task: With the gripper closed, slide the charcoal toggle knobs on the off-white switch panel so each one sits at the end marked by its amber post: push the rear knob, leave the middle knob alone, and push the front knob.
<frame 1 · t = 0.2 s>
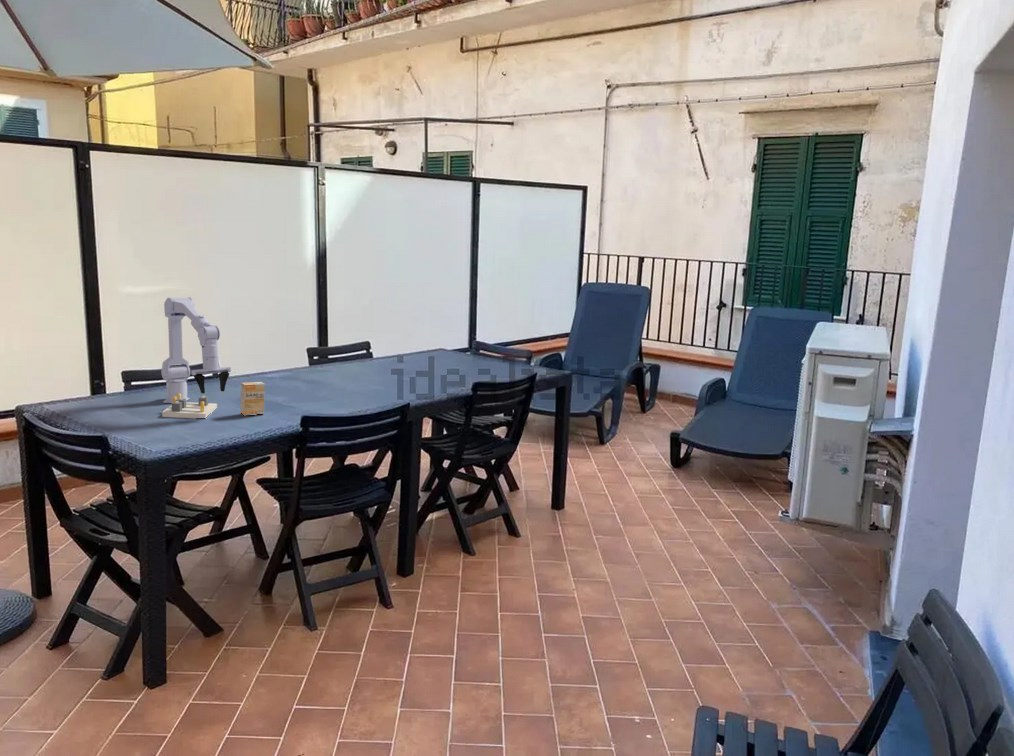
hand: (212, 392, 291), 10 cm above the table, tool pointing down, fingers open, 7 cm apart
middle knob: (181, 402, 297), point 4 cm above the table, slide at 0.0 cm
supplement box: (252, 415, 303), on the table
rear knob: (203, 400, 303), point 4 cm above the table, slide at 7.0 cm
front knob: (176, 406, 292), point 4 cm above the table, slide at 0.0 cm
switch panel: (190, 412, 298), on the table
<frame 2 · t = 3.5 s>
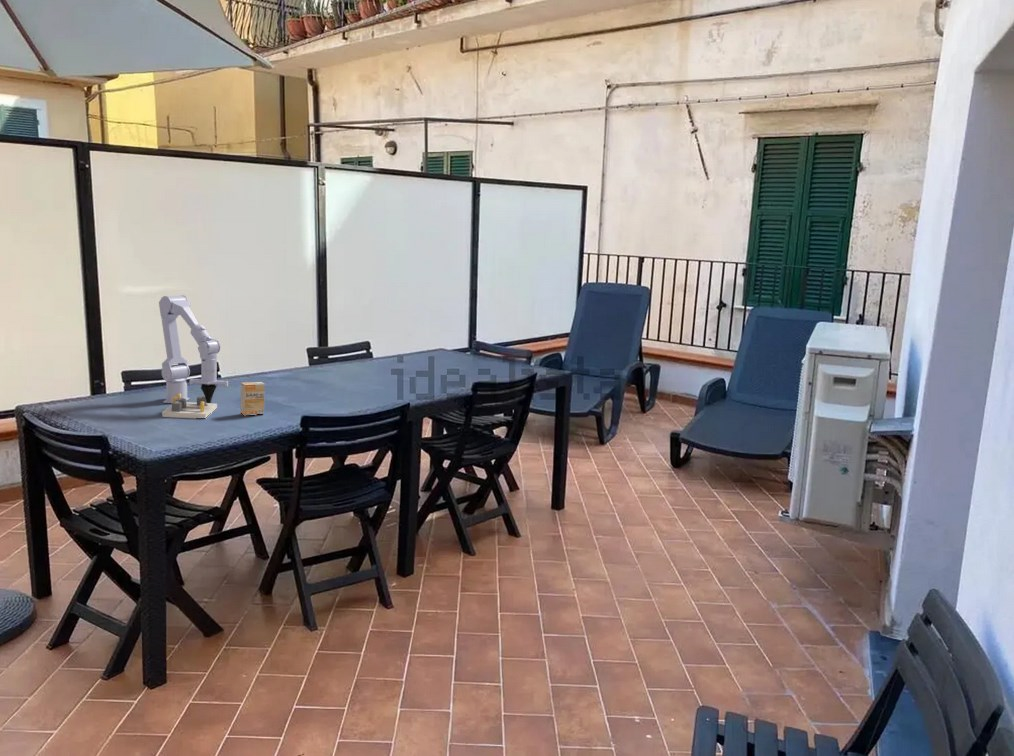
hand: (208, 402, 304), 3 cm above the table, tool pointing down, fingers closed
rear knob: (201, 400, 303), point 4 cm above the table, slide at 6.3 cm, touching gripper
everything else where it was.
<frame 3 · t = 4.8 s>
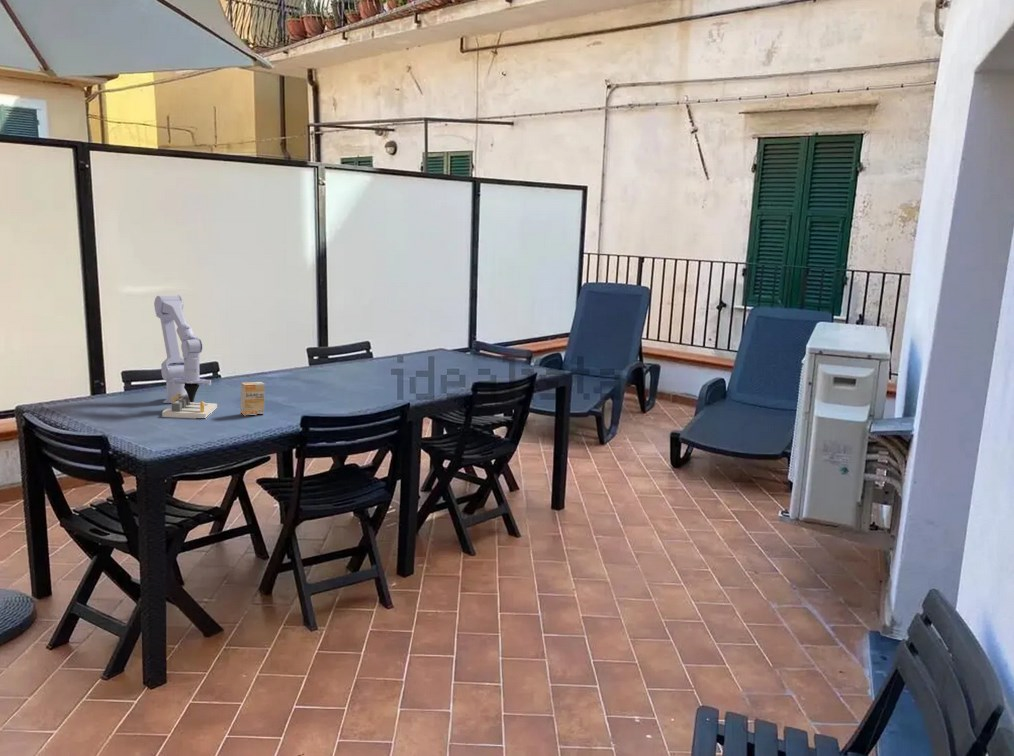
hand: (191, 401, 303), 3 cm above the table, tool pointing down, fingers closed
rear knob: (185, 399, 302), point 4 cm above the table, slide at -0.2 cm, touching gripper
everything else where it was.
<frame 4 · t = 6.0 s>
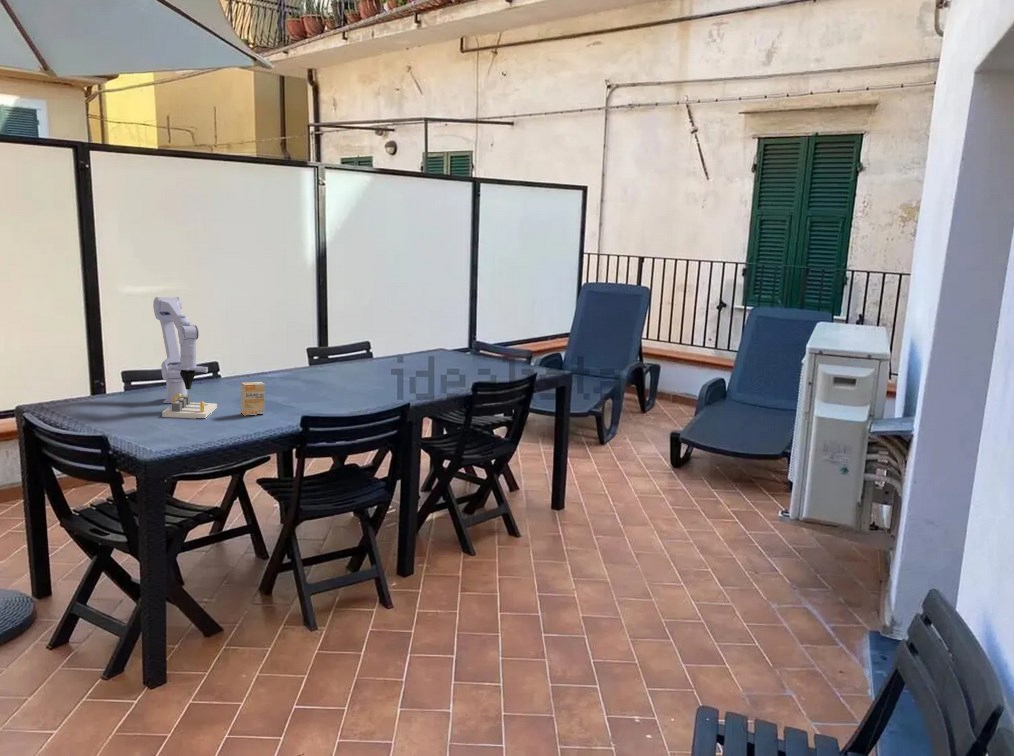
hand: (188, 388, 301), 8 cm above the table, tool pointing down, fingers closed
rear knob: (185, 399, 302), point 4 cm above the table, slide at -0.1 cm
everything else where it was.
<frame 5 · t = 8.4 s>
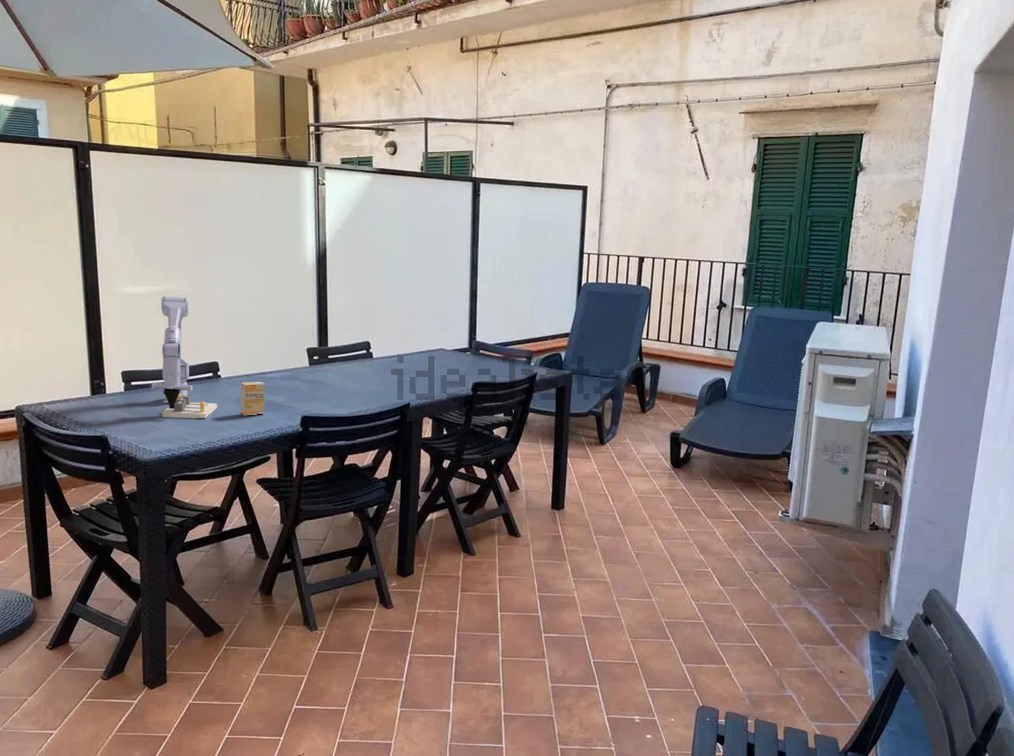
hand: (172, 407, 292), 3 cm above the table, tool pointing down, fingers closed
front knob: (179, 406, 292), point 4 cm above the table, slide at 1.0 cm, touching gripper
everything else where it was.
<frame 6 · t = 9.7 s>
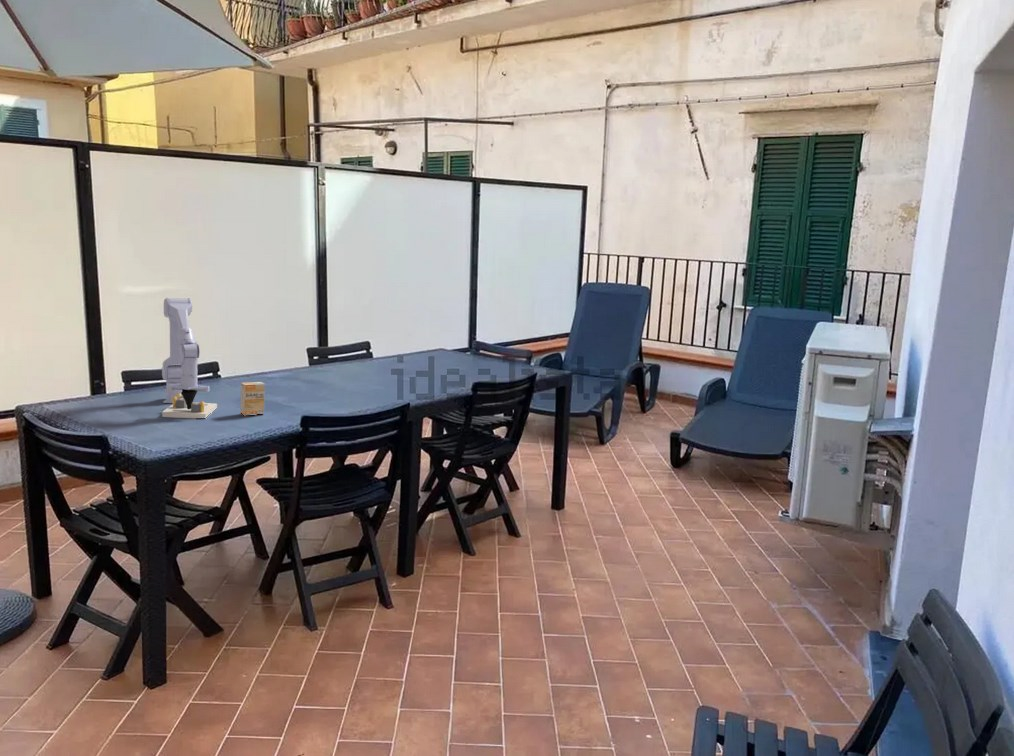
hand: (189, 408, 292), 3 cm above the table, tool pointing down, fingers closed
front knob: (196, 407, 293), point 4 cm above the table, slide at 7.2 cm, touching gripper
everything else where it was.
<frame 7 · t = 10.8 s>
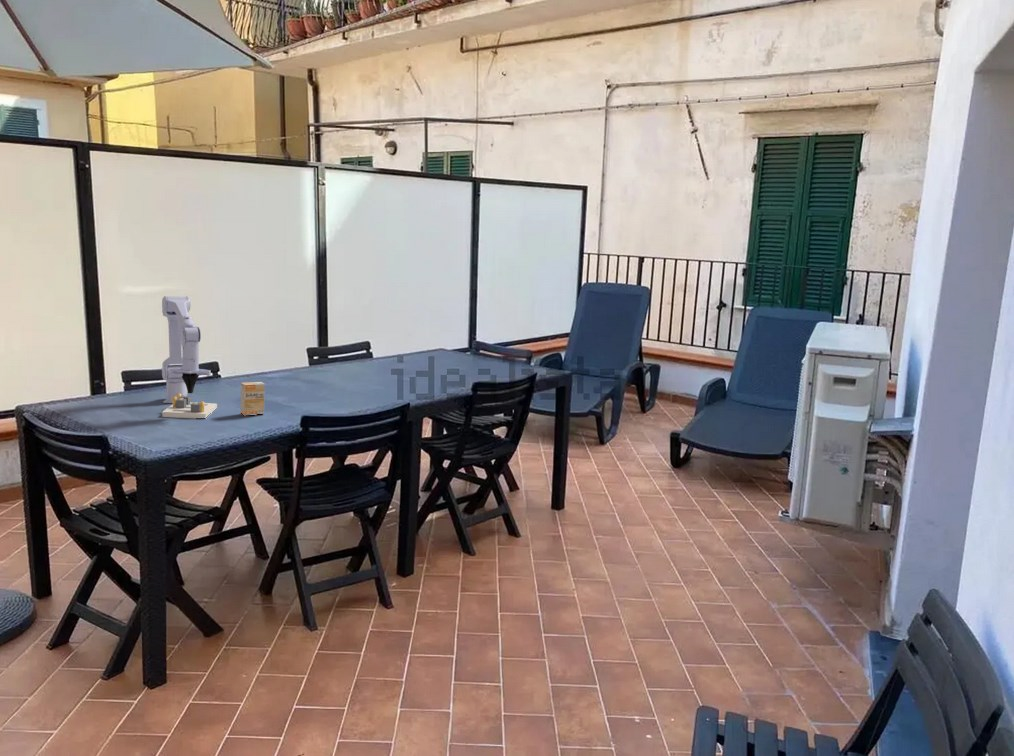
hand: (190, 392, 291), 9 cm above the table, tool pointing down, fingers closed
front knob: (195, 407, 293), point 4 cm above the table, slide at 7.1 cm
everything else where it was.
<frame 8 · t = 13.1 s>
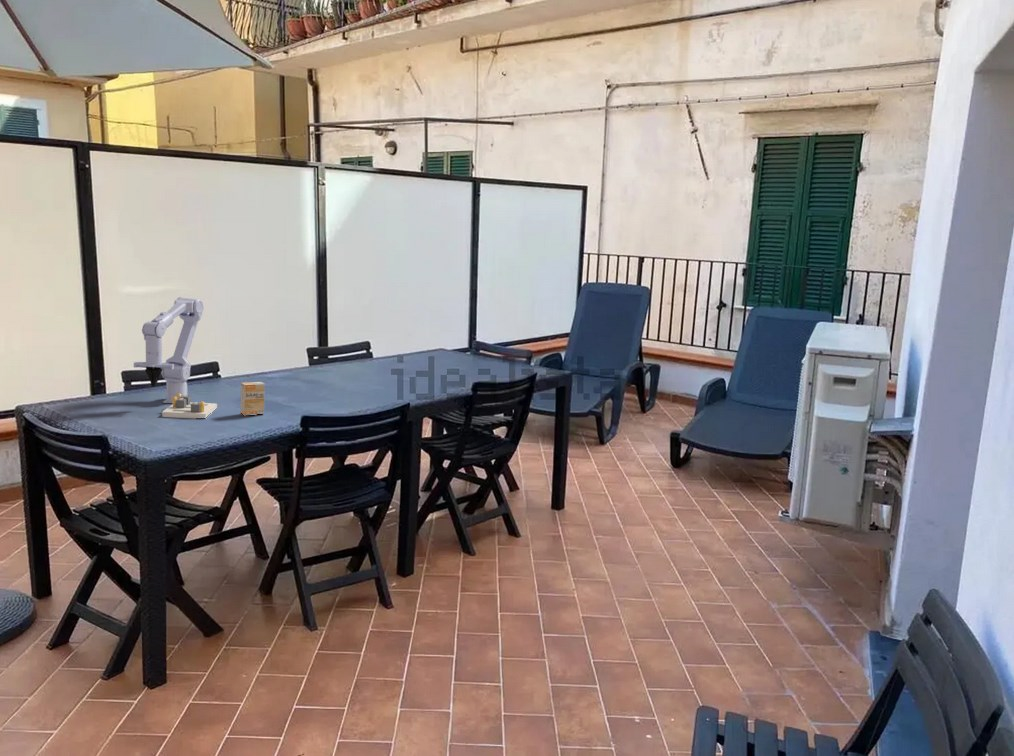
hand: (154, 386, 297), 9 cm above the table, tool pointing down, fingers closed
nothing on the table moved.
at the end: rear knob slide at -0.1 cm; middle knob slide at 0.0 cm; front knob slide at 7.1 cm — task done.
